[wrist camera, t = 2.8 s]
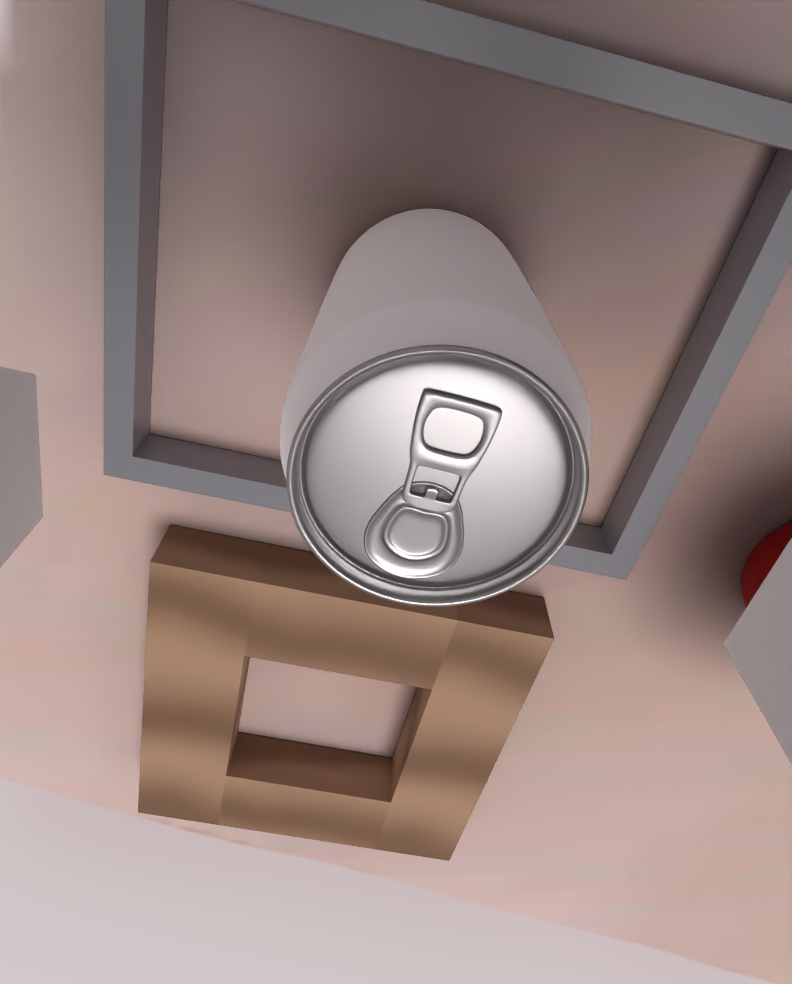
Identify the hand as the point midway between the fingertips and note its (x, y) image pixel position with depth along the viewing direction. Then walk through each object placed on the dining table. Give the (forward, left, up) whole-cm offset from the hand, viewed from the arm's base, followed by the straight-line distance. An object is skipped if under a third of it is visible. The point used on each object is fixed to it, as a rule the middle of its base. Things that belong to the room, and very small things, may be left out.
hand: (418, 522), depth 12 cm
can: (0, 0, -13) cm, 13 cm away
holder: (+19, 0, -13) cm, 23 cm away
